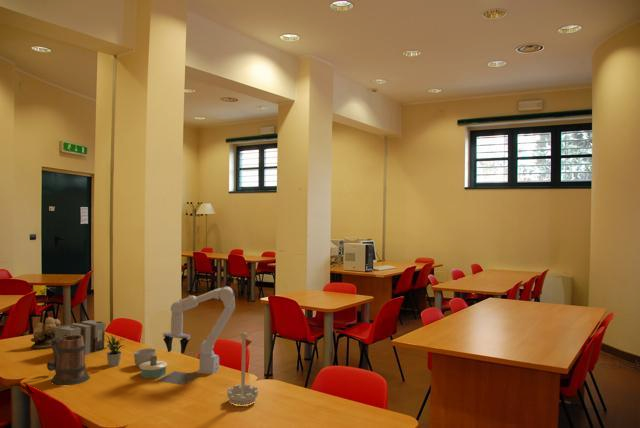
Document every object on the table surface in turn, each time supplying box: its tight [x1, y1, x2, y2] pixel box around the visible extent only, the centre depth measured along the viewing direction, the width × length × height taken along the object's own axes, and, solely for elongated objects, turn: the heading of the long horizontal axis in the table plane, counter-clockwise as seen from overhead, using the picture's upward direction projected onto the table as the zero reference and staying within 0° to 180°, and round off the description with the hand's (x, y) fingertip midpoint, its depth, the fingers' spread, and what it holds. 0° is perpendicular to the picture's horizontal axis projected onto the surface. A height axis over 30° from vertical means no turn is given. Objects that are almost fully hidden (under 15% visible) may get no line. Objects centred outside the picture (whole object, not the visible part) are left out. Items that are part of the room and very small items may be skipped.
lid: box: [138, 355, 168, 370], centre depth 242 cm, size 13×13×5 cm
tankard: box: [46, 335, 91, 386], centre depth 234 cm, size 24×17×20 cm
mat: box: [156, 370, 201, 386], centre depth 238 cm, size 15×15×1 cm
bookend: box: [55, 319, 106, 356], centre depth 276 cm, size 16×25×16 cm, turn 154°
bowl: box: [140, 366, 167, 379], centre depth 242 cm, size 11×11×4 cm
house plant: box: [99, 334, 128, 367], centre depth 256 cm, size 14×14×16 cm
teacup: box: [133, 347, 157, 368], centre depth 257 cm, size 14×11×8 cm
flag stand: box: [226, 331, 259, 405], centre depth 212 cm, size 13×13×30 cm
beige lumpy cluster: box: [30, 316, 62, 351], centre depth 287 cm, size 18×12×17 cm, turn 145°
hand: (176, 352), depth 248 cm, fingers open, 7 cm apart
